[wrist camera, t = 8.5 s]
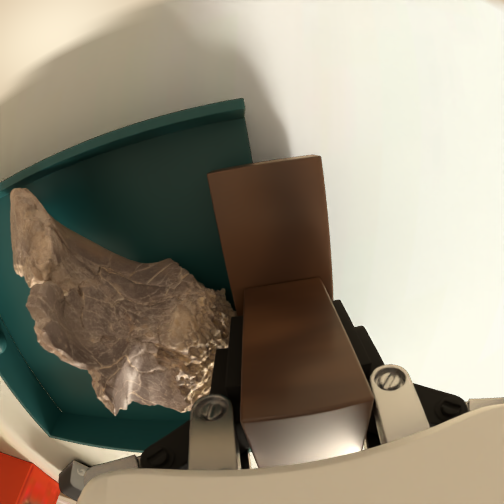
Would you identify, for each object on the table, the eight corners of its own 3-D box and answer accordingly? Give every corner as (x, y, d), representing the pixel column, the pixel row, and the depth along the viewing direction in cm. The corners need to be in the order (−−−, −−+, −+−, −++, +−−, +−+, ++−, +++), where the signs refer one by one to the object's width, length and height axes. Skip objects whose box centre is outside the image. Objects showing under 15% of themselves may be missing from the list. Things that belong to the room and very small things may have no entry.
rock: (55, 140, 11) (-53, 157, 4) (274, 313, 15) (295, 427, 8) (17, 229, 12) (-67, 282, 6) (206, 374, 16) (196, 477, 10)
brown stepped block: (307, 153, 12) (418, 179, 4) (325, 388, 17) (354, 505, 9) (214, 168, 12) (142, 221, 4) (263, 397, 17) (269, 519, 9)
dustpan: (242, 109, 11) (243, 97, 8) (291, 409, 18) (297, 445, 15) (-77, 243, 12) (-97, 255, 9) (0, 398, 19) (-11, 417, 16)
